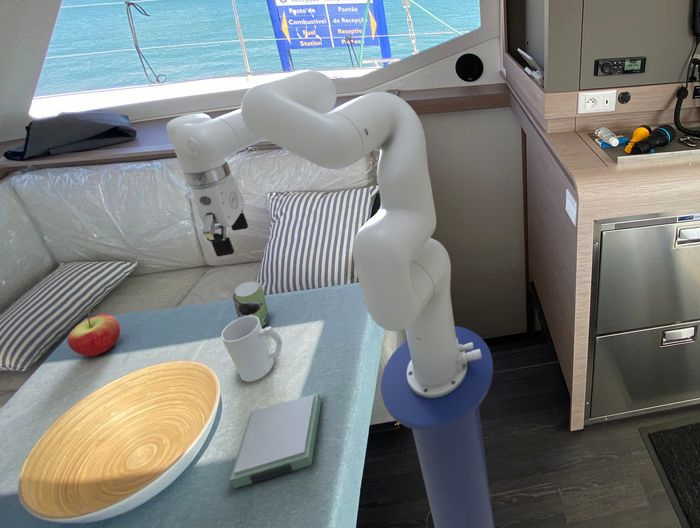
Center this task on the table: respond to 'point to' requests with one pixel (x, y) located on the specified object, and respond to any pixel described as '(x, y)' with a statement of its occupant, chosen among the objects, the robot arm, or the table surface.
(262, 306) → the beverage can
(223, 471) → the table surface
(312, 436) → the scale
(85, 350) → the apple
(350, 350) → the table surface
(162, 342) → the table surface
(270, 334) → the mug
